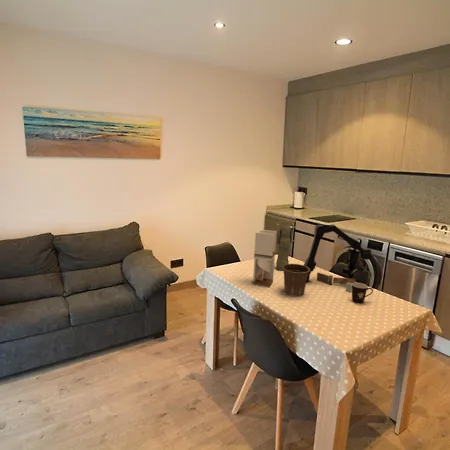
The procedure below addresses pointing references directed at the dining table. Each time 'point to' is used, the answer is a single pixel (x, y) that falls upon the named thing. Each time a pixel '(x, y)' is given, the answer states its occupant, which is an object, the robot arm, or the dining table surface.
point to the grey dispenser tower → (264, 257)
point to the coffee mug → (359, 292)
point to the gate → (343, 280)
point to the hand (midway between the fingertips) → (351, 280)
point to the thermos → (283, 245)
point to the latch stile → (349, 287)
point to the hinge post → (324, 278)
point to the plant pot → (295, 279)
